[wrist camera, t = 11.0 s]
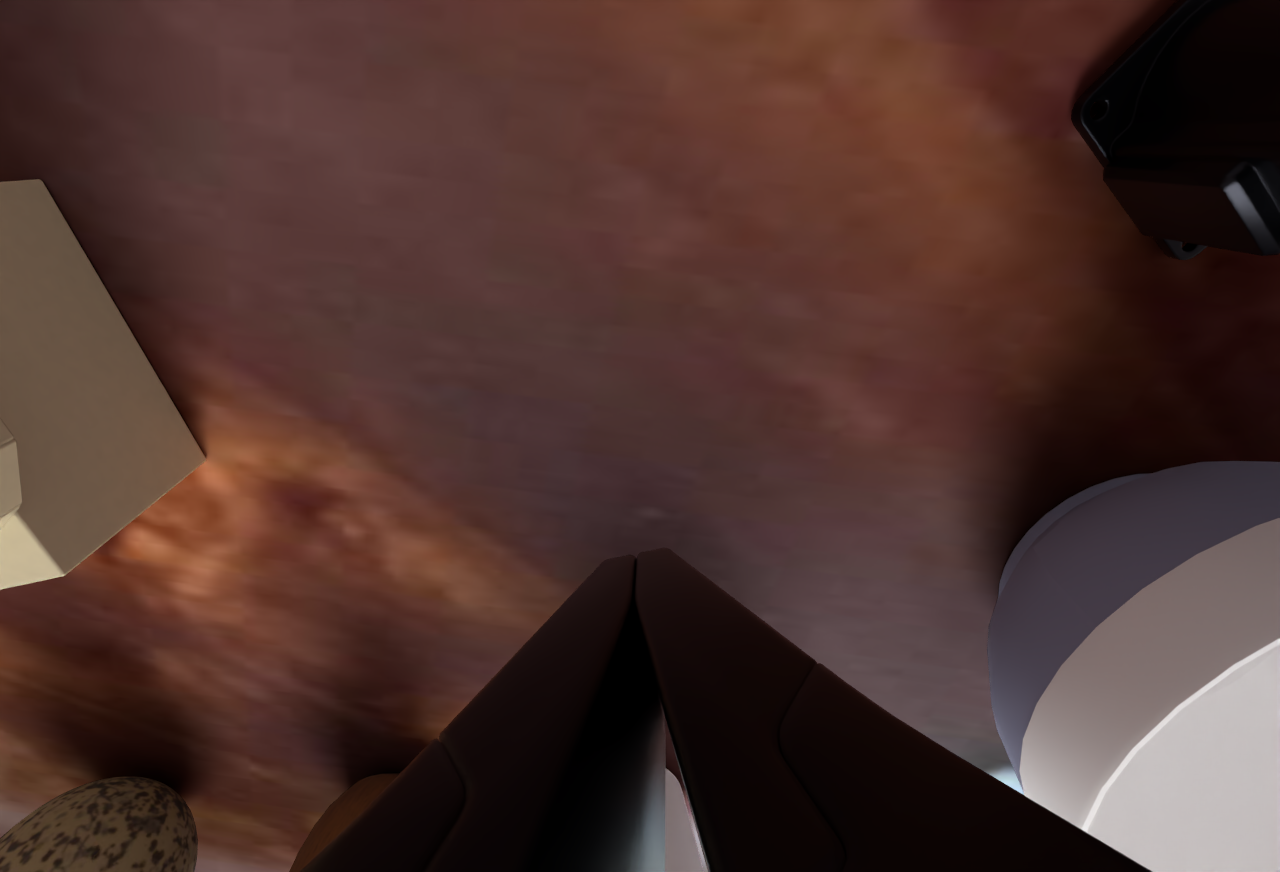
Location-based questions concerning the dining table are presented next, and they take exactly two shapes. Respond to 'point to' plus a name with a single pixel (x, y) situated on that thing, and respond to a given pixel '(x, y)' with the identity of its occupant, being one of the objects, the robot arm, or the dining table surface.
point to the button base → (71, 401)
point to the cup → (679, 831)
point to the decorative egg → (105, 831)
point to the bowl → (1150, 665)
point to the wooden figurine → (341, 816)
